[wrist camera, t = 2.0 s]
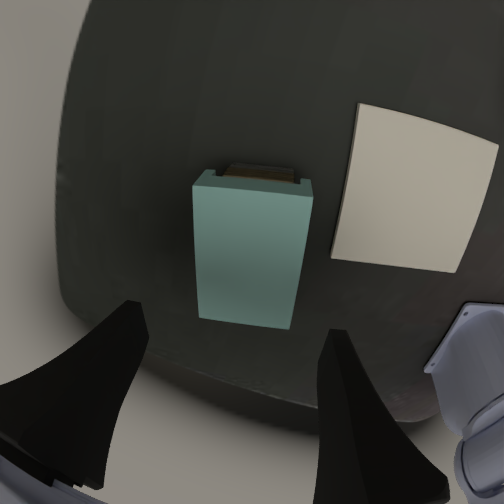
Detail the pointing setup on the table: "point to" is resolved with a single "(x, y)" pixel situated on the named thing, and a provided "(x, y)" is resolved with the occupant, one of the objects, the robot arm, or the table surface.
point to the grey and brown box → (260, 172)
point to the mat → (410, 191)
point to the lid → (249, 247)
